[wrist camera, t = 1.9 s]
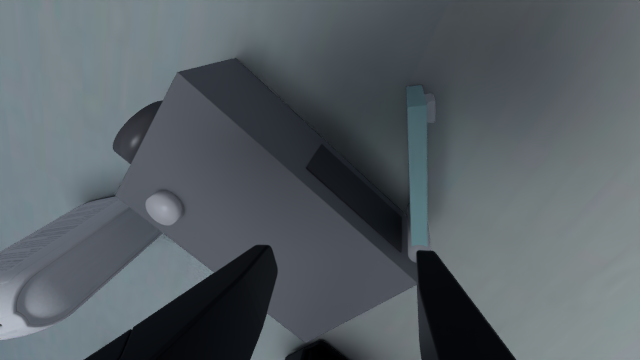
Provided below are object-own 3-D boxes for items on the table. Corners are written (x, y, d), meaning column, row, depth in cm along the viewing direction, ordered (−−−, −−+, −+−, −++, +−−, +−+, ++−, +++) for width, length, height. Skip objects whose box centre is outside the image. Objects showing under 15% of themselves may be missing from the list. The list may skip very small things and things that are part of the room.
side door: (430, 215, 20) (436, 264, 16) (407, 215, 20) (408, 262, 16) (430, 83, 16) (438, 104, 12) (402, 86, 17) (402, 108, 13)
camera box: (416, 222, 21) (420, 293, 15) (323, 283, 26) (302, 352, 20) (214, 36, 18) (135, 44, 13) (155, 145, 23) (81, 183, 18)
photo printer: (103, 236, 30) (-56, 353, 20) (77, 201, 29) (-112, 308, 18) (180, 226, 27) (36, 361, 16) (156, 184, 25) (-23, 306, 15)
